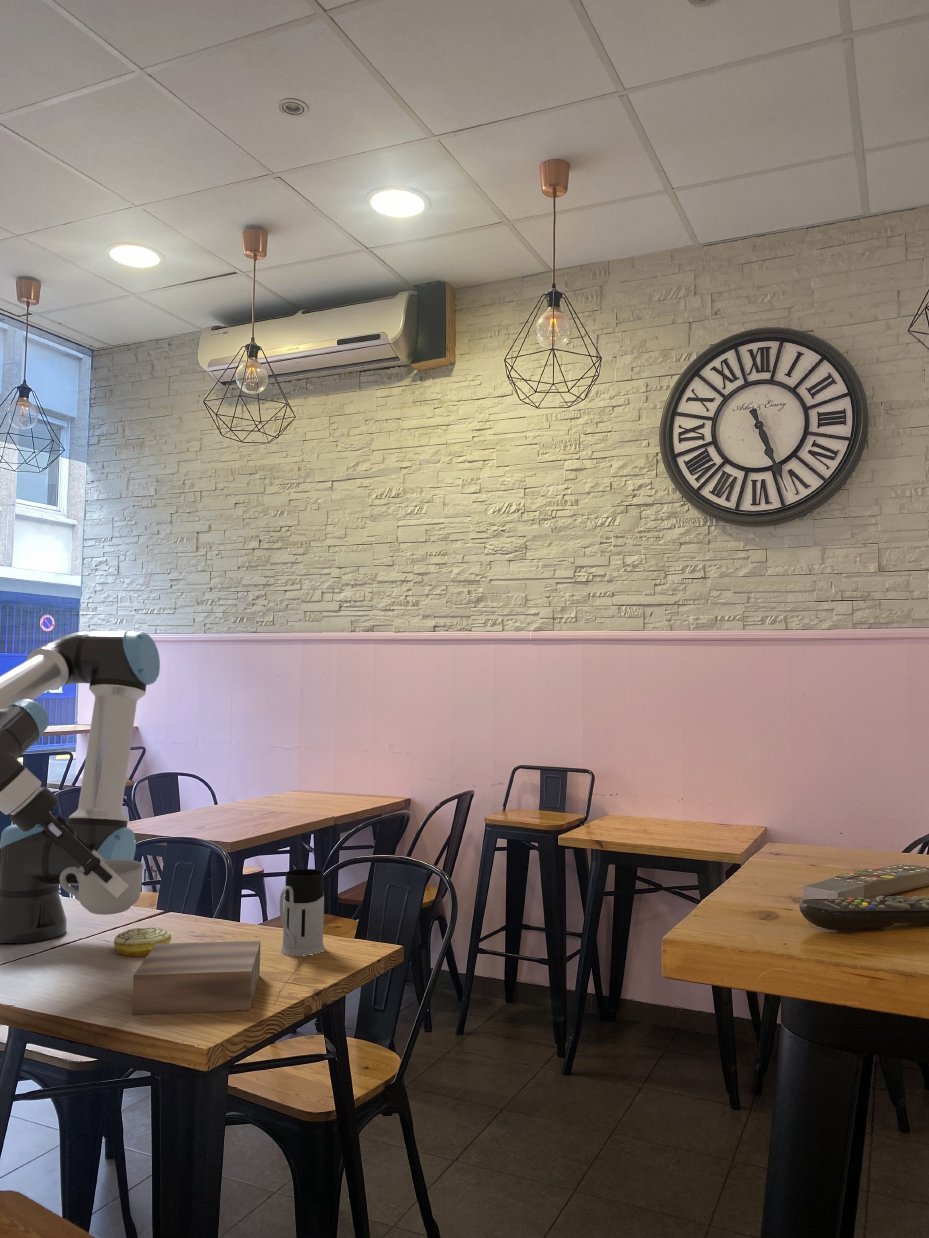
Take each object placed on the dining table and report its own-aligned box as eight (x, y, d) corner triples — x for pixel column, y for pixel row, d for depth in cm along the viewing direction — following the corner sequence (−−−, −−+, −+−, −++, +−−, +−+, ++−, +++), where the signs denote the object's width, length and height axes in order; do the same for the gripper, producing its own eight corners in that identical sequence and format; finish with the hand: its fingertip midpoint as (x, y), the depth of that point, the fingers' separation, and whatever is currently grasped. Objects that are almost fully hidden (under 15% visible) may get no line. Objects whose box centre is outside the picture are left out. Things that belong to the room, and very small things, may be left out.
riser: (154, 978, 154) (156, 943, 155) (259, 975, 157) (260, 940, 158) (131, 1014, 137) (133, 974, 137) (250, 1009, 139) (251, 970, 140)
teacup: (151, 904, 161) (153, 859, 162) (124, 919, 150) (126, 871, 151) (78, 902, 162) (80, 857, 163) (46, 916, 151) (48, 869, 152)
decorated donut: (165, 941, 179) (166, 922, 180) (174, 954, 170) (175, 934, 170) (111, 947, 175) (112, 927, 175) (116, 961, 165) (117, 940, 166)
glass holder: (332, 946, 176) (334, 869, 178) (300, 966, 163) (303, 883, 164) (292, 942, 179) (294, 867, 180) (258, 961, 165) (260, 880, 167)
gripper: (6, 809, 160) (94, 888, 166) (9, 826, 139) (109, 916, 145) (40, 778, 163) (125, 857, 169) (48, 791, 142) (144, 880, 148)
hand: (118, 885), depth 157 cm, fingers closed on teacup, 11 cm apart
